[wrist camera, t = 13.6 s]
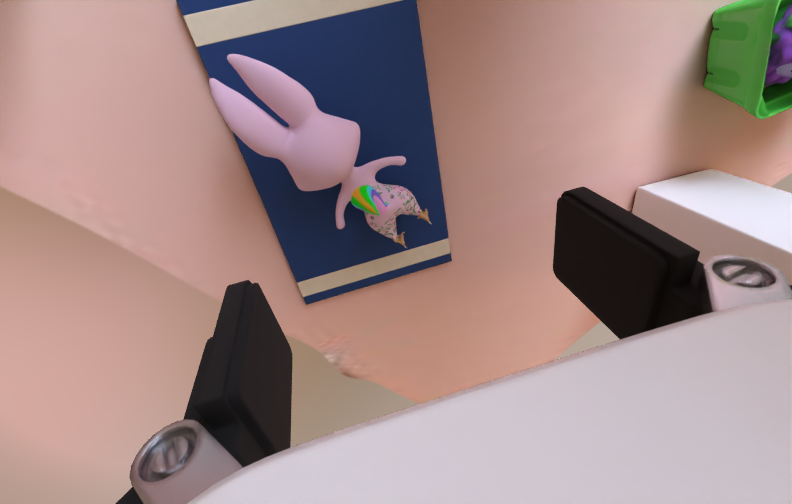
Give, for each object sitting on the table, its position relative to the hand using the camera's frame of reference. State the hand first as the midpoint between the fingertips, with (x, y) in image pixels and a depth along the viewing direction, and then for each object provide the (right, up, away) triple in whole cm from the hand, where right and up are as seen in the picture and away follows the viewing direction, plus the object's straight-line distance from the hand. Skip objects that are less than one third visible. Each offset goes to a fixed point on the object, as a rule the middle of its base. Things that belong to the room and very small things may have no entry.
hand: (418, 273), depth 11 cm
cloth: (-4, +7, +13) cm, 15 cm away
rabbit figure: (-5, +7, +12) cm, 15 cm away
